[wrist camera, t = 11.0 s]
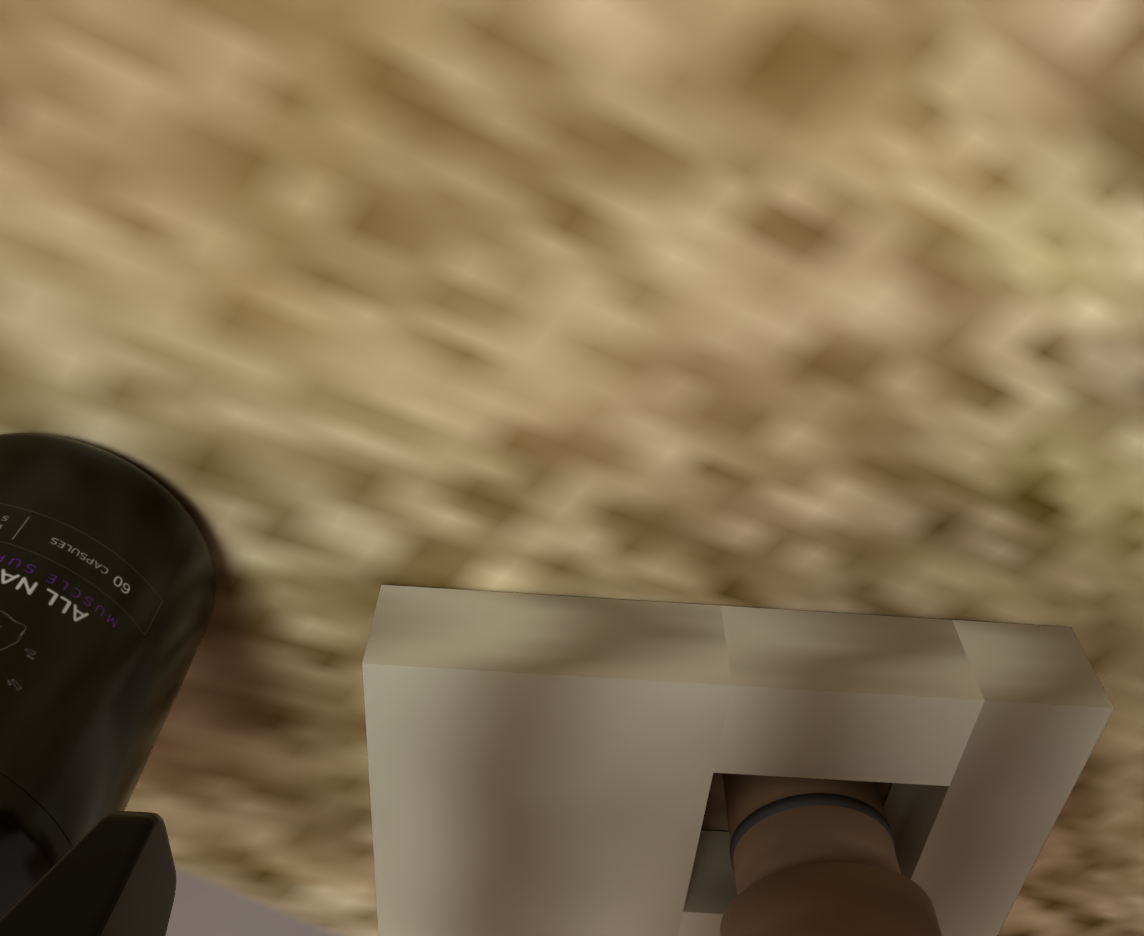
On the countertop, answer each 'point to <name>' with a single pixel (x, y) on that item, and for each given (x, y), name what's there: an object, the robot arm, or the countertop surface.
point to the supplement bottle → (85, 639)
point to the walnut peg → (817, 862)
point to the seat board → (696, 753)
